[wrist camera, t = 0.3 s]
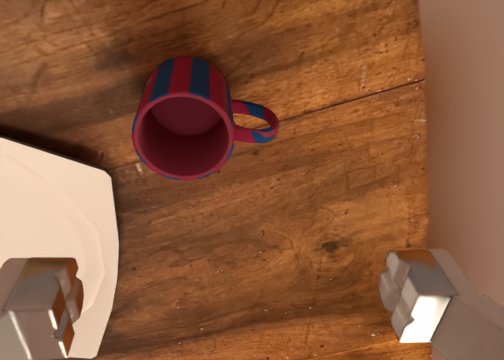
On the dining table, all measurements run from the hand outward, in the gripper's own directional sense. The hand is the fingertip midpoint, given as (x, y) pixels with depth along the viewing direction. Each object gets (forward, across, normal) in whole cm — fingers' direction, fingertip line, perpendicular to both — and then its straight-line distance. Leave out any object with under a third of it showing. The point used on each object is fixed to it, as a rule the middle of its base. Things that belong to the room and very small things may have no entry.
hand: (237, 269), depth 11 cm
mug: (+24, +1, +5) cm, 24 cm away
